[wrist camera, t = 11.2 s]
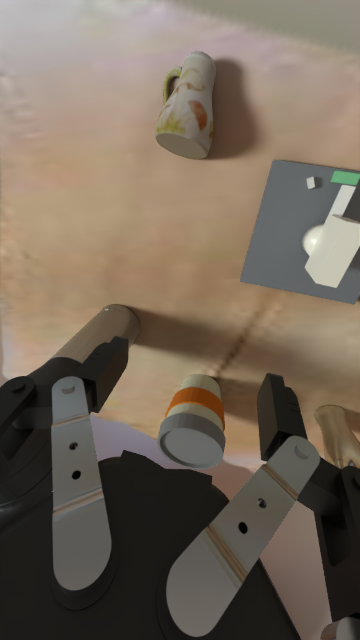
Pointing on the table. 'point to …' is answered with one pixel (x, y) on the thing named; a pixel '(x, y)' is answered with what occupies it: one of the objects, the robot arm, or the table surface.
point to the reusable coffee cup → (194, 425)
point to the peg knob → (332, 242)
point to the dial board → (299, 229)
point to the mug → (188, 108)
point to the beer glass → (338, 437)
